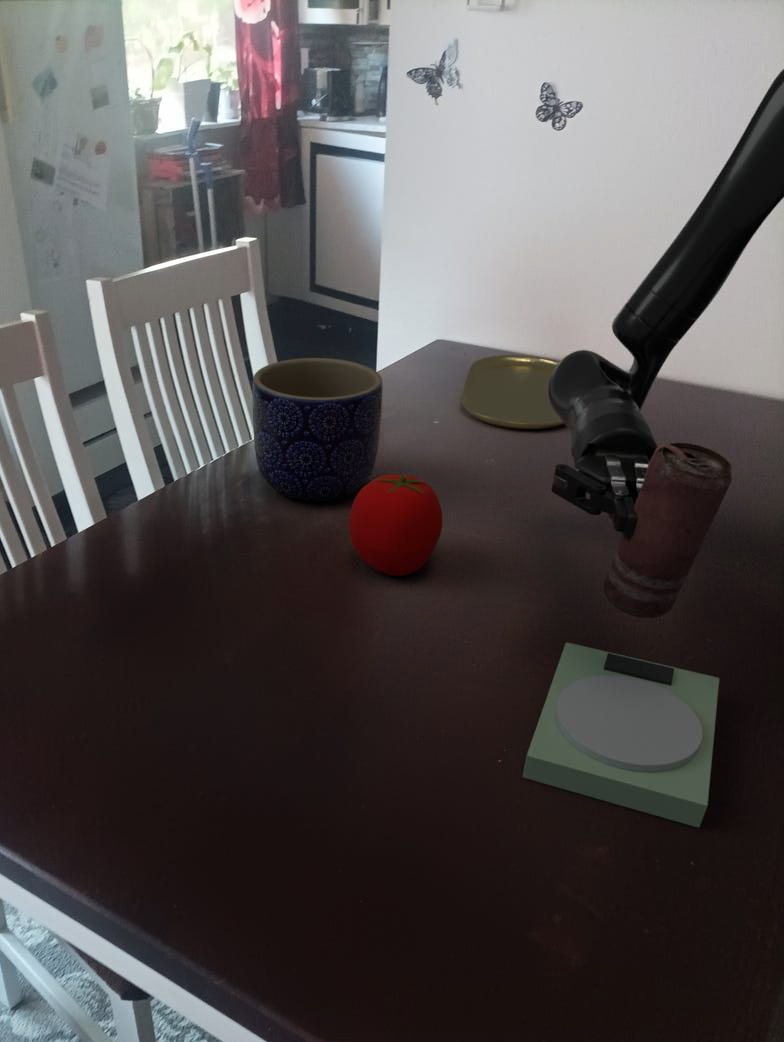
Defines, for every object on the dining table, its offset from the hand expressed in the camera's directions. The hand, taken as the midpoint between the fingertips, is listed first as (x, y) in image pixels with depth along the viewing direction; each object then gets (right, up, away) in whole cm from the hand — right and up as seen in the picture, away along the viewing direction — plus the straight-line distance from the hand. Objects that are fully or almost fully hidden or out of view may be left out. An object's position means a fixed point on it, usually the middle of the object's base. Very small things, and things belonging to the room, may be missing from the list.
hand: (637, 528), depth 74 cm
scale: (+1, -18, +6) cm, 19 cm away
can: (+2, -6, +6) cm, 8 cm away
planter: (-26, +12, +48) cm, 56 cm away
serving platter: (+9, +32, +79) cm, 86 cm away
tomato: (-17, -1, +31) cm, 35 cm away
